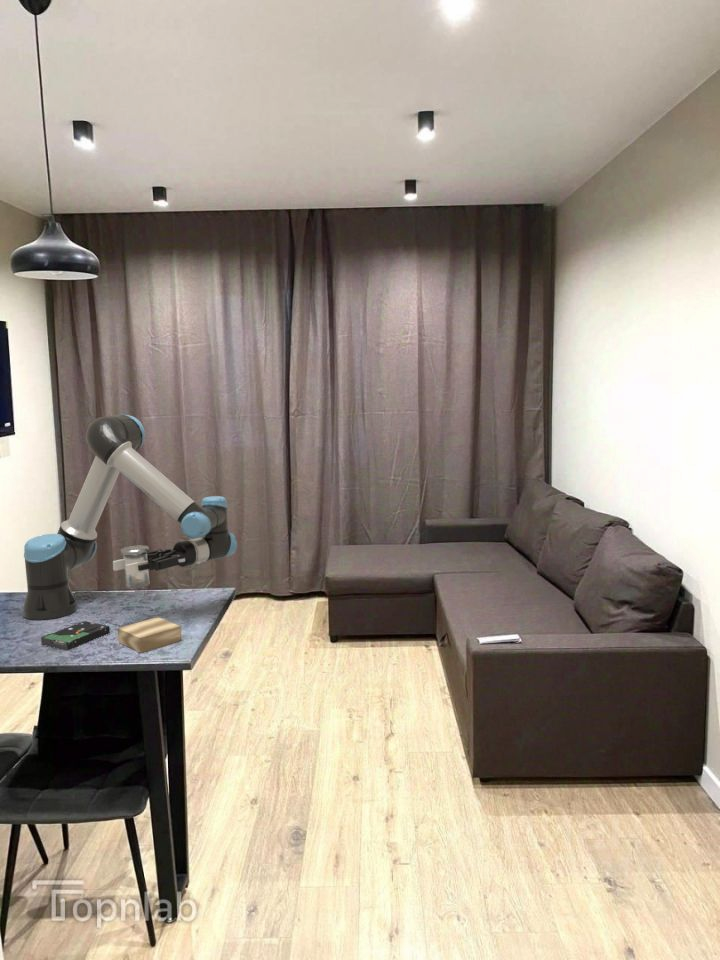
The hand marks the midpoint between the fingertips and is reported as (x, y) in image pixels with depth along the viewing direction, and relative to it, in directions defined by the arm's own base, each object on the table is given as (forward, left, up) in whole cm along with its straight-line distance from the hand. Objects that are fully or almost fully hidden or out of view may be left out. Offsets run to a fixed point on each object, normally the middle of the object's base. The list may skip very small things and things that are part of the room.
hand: (120, 567), depth 200 cm
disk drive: (-4, -12, -19) cm, 23 cm away
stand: (+13, 0, -18) cm, 23 cm away
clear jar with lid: (0, +5, -6) cm, 8 cm away
